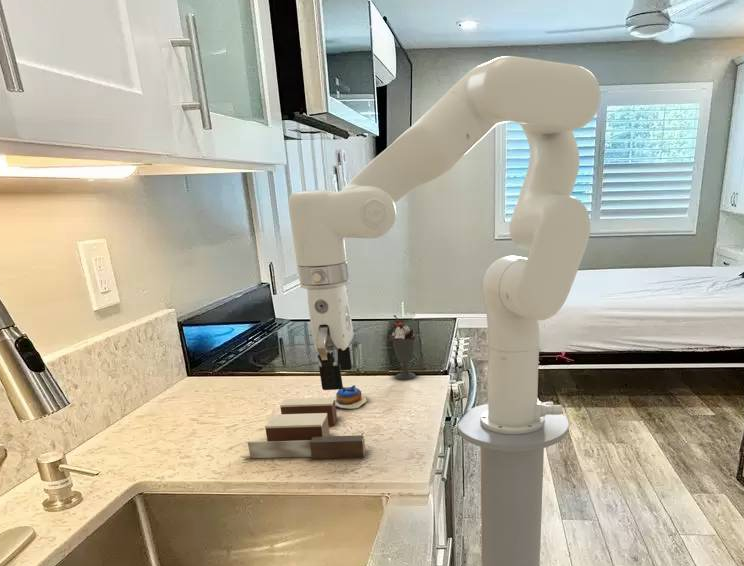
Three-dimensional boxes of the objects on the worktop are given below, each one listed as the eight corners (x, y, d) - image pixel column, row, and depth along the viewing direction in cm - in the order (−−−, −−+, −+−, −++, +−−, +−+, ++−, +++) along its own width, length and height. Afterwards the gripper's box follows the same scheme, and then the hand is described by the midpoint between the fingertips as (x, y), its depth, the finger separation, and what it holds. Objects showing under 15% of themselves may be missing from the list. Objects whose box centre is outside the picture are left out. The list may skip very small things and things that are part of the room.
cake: (329, 435, 108) (327, 412, 106) (324, 448, 102) (321, 424, 101) (277, 436, 108) (273, 414, 106) (268, 449, 103) (264, 426, 101)
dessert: (356, 408, 118) (340, 384, 118) (335, 422, 121) (320, 399, 121) (375, 398, 125) (360, 375, 125) (355, 411, 128) (340, 389, 128)
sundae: (391, 373, 142) (387, 313, 136) (418, 371, 142) (415, 311, 137) (391, 381, 136) (387, 319, 130) (419, 379, 136) (416, 317, 130)
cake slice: (337, 418, 115) (334, 397, 113) (334, 425, 112) (331, 403, 110) (287, 420, 115) (284, 398, 114) (283, 426, 112) (280, 405, 110)
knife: (365, 451, 101) (364, 435, 99) (363, 457, 98) (362, 440, 97) (252, 454, 101) (249, 438, 100) (248, 461, 99) (245, 444, 97)
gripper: (338, 283, 81) (352, 396, 87) (356, 265, 97) (366, 362, 103) (285, 286, 81) (303, 399, 87) (311, 268, 97) (325, 364, 103)
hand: (338, 379), depth 95 cm, fingers open, 9 cm apart
